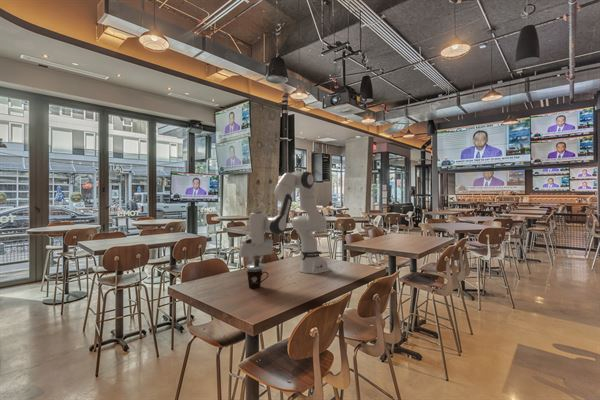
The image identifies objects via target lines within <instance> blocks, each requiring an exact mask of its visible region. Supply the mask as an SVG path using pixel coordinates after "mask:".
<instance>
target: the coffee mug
mask: <svg viewBox="0 0 600 400" xmlns="http://www.w3.org/2000/svg"><path fill="white" fill-rule="evenodd" d="M246 273H247V275H246V276H247V282H248V288H249V289H251V290H256V289H259V288H260V289H261V283H262V282H264V281H265V280H267V279H268V277H269V272H267V271H263V269H248V268H247V269H246ZM263 274H267V276H266V277H265V278H263V279H262V276H263Z"/></svg>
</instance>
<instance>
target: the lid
mask: <svg viewBox="0 0 600 400" xmlns="http://www.w3.org/2000/svg"><path fill="white" fill-rule="evenodd" d="M259 259H260V257H259V258H258V257H256V258H253V260H255V264H252V263H248V264H246V265H245V266H246V267H245V268H246V269H247V270H248V269H262V270H263V269H266V268H268V264H267V263H264V262H263V263H259Z"/></svg>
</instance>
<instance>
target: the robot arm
mask: <svg viewBox="0 0 600 400" xmlns="http://www.w3.org/2000/svg"><path fill="white" fill-rule="evenodd" d="M314 182H315V176H314V175H313V173H312V172H310V171H303V170H301V171H299V170H298V171H294V172H292V171H291V172H284V173H283V174H282V176H281V177H280V178H279V180H278V181H277V183H276V186H274V187H275V188H274V191H273V194H274V195H273V196H274V197H275V199H276V200H277V201H279V202H280V203H281V204H280V207H279V210H278V211H279V212H278V214H277V215H276V216H269V215H267V214H265V213H264V212H263V211H262V210H261V211H260V210H258V211H257V210H255V211H252V212H250V214H249V216H248V229H249V232H248V236H246V237H244V238H242V239H240V243H241V244H239V249H238V255H239V256H240V257H241V258H246V257H249V259H250V261H251V264H255V260H254V257H257V256H259V263H262V261H263V259H264V256H266V255H273V254H274V240H273V239H271V238H265V233H269V234H274V235H277V236H278V235H281V234H283V233H284V232H285V231H286V229H287V225H288V218H289V216H290V215H289V214H290V211H291V207H292V203H293V196H292V194H293V192H294V190H295V189H299V190H298V192H299V207H300V209H301V210H302V211H304V212H305V213H306V214H307V215H297V216H294V217H293V219H292V221H291V226H292V228H293V229H294V230H295V231H296V232H297V234H298V236H299V239H300V241H301V242H300V243H301V244H300V245H301V250H300V259H301V261H300V267H299V270H298V271H299V272H300V273H303V274H314V275H315V274H321V273H326V272H331V271H332V269H331V268H330V267H328V262H327V260H326V259H324V258H323V257H321V256H320V255H322V254H323V251H320V250H318V240H317V238H315V236H313V235H312V234H311V232H315V233H317V232H323V231H325V230H326V228H327V225H328V222H327V219H326V218H325V217H324V216H323V215H322V214H321V213H320V212H319V210H318V207H317V200H316V189H315V186H314V185H315V184H314Z"/></svg>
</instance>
